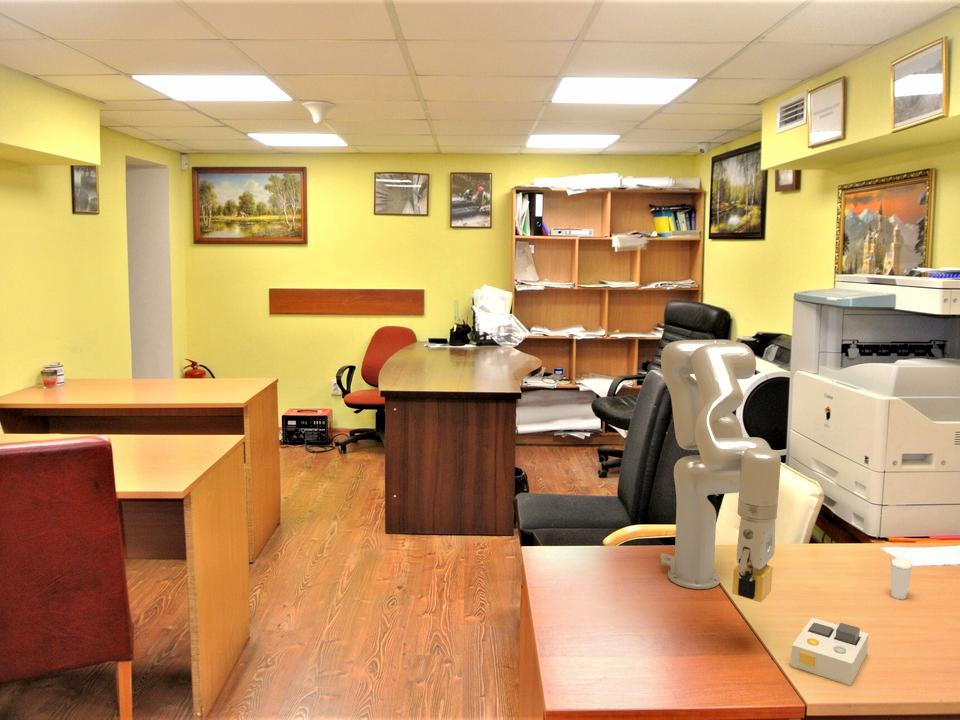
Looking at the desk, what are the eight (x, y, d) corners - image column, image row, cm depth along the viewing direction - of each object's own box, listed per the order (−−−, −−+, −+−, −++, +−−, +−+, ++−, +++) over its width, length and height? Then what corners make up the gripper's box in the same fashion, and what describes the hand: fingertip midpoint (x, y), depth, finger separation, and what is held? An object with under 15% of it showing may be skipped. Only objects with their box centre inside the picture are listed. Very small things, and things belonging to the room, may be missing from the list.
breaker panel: (790, 666, 151) (791, 644, 150) (810, 637, 162) (811, 616, 162) (850, 686, 144) (852, 662, 144) (867, 654, 156) (868, 632, 155)
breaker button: (834, 648, 153) (836, 629, 153) (839, 640, 156) (840, 622, 155) (854, 654, 151) (855, 635, 150) (858, 646, 154) (859, 628, 153)
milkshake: (880, 592, 182) (883, 553, 181) (901, 591, 183) (905, 552, 181) (892, 601, 178) (895, 560, 176) (914, 600, 178) (917, 560, 177)
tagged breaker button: (808, 647, 157) (809, 629, 156) (813, 640, 159) (814, 622, 159) (826, 653, 154) (828, 634, 154) (831, 645, 157) (832, 627, 156)
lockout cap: (732, 593, 158) (733, 569, 157) (742, 582, 162) (743, 558, 161) (761, 602, 154) (763, 577, 153) (770, 591, 159) (772, 566, 158)
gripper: (762, 526, 146) (755, 613, 149) (789, 500, 159) (783, 580, 163) (723, 517, 150) (718, 601, 154) (753, 492, 164) (747, 570, 167)
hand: (751, 589), depth 158 cm, fingers closed on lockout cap, 6 cm apart
